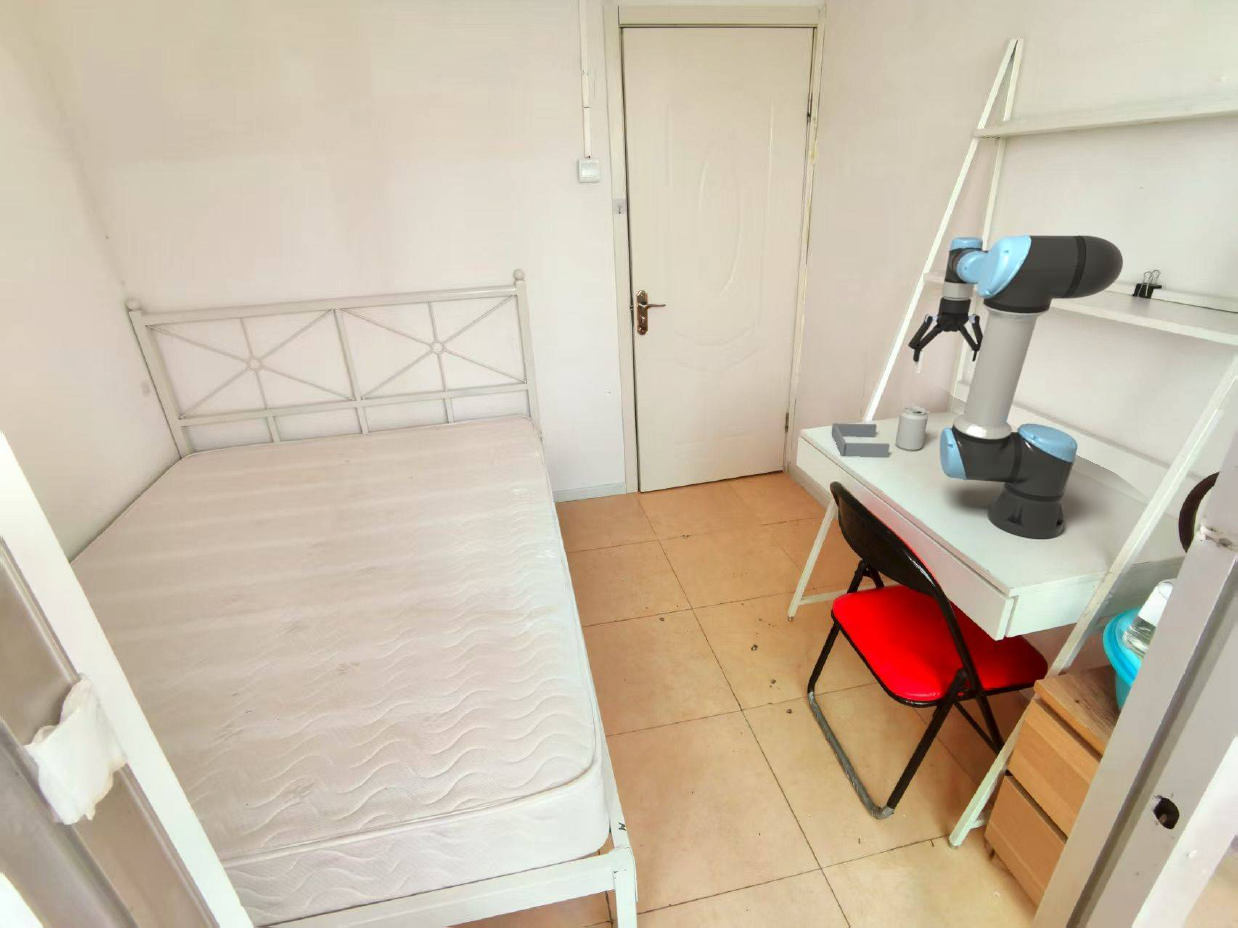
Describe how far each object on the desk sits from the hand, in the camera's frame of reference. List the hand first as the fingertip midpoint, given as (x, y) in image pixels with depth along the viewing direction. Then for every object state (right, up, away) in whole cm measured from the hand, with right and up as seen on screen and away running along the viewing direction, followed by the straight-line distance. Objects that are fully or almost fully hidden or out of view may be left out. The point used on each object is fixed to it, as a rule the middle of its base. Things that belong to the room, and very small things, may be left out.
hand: (941, 372), depth 181 cm
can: (-6, -21, +8) cm, 24 cm away
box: (-20, -21, +9) cm, 31 cm away
